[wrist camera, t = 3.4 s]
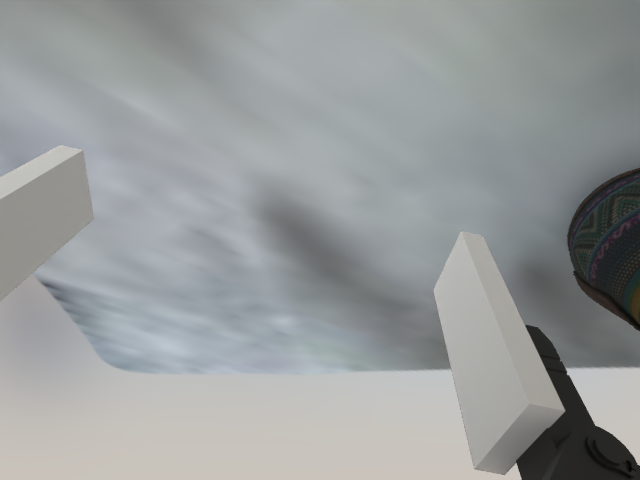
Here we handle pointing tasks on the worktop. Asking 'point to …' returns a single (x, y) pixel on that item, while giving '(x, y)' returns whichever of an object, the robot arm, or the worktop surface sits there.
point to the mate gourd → (610, 246)
